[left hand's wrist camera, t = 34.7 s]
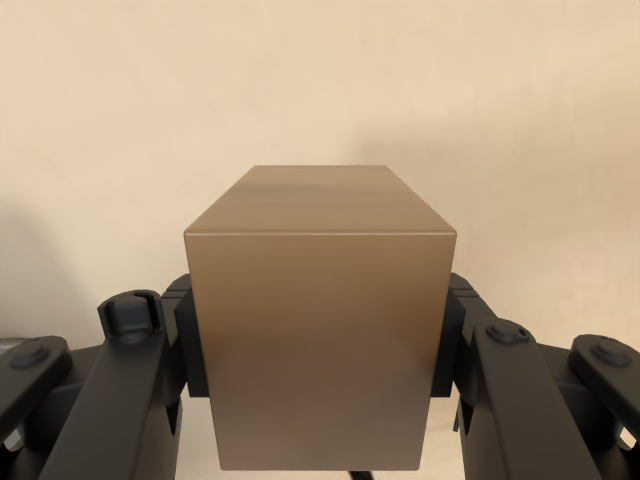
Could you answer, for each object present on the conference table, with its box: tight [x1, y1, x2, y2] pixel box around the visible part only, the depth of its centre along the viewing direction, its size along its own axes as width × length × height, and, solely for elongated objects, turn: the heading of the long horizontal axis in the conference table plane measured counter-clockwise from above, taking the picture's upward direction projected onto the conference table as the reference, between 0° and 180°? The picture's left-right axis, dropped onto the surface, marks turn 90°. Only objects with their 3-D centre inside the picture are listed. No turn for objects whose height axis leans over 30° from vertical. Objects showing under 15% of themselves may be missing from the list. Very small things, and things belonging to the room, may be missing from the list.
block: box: [184, 166, 457, 471], centre depth 11 cm, size 7×5×8 cm
